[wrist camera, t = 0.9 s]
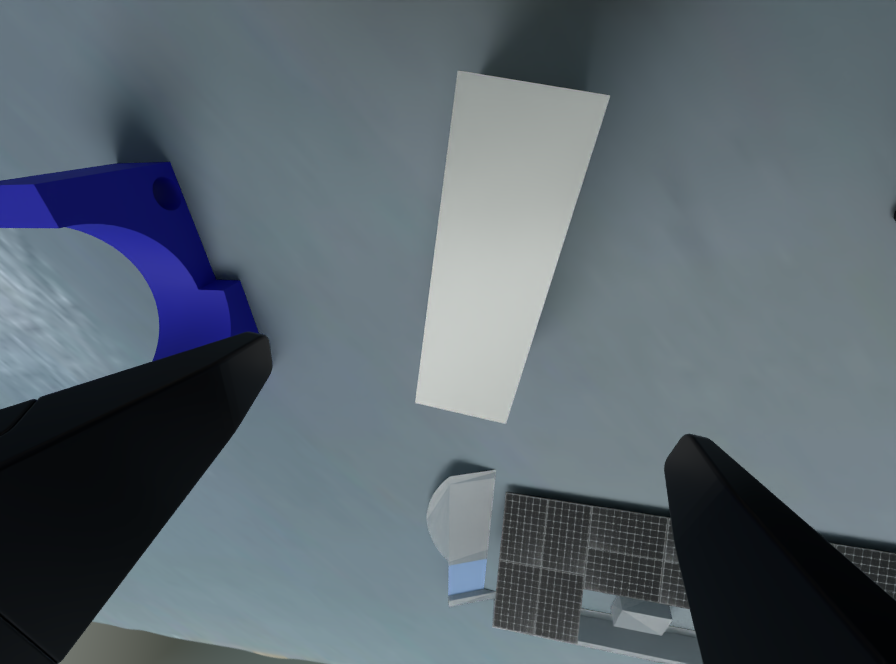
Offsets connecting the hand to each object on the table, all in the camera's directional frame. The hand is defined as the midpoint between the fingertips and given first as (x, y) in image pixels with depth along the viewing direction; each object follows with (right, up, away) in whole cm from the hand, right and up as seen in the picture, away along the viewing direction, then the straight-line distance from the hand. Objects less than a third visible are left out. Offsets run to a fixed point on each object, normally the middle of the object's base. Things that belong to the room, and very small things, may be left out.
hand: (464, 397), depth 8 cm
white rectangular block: (+2, +5, +9) cm, 11 cm away
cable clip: (-14, +5, +13) cm, 20 cm away
